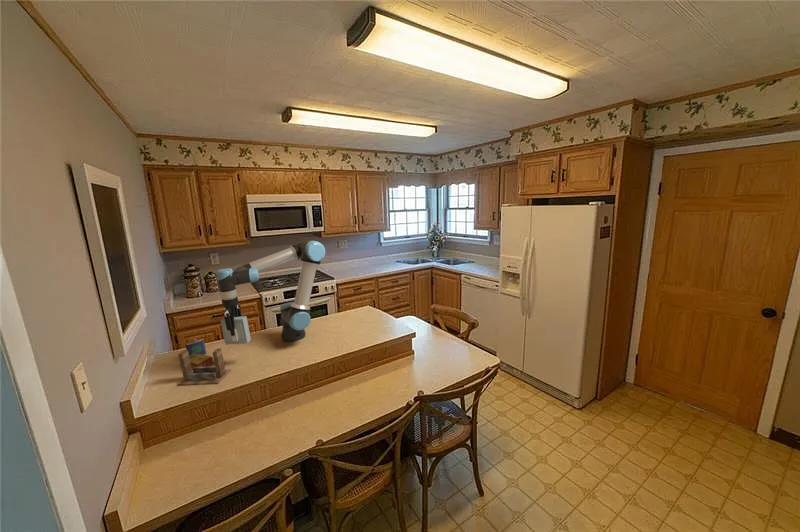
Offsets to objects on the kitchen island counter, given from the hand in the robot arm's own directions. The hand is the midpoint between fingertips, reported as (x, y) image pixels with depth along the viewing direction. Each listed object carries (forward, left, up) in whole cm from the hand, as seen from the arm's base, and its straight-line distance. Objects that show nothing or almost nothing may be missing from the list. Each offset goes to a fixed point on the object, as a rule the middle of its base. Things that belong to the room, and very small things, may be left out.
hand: (237, 338), depth 167 cm
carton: (+25, -1, -15) cm, 29 cm away
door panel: (0, 0, -2) cm, 2 cm away
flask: (+31, -10, -15) cm, 36 cm away
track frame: (+11, +14, -14) cm, 23 cm away
